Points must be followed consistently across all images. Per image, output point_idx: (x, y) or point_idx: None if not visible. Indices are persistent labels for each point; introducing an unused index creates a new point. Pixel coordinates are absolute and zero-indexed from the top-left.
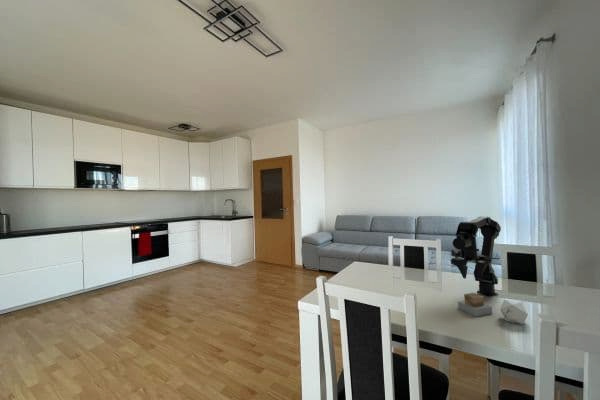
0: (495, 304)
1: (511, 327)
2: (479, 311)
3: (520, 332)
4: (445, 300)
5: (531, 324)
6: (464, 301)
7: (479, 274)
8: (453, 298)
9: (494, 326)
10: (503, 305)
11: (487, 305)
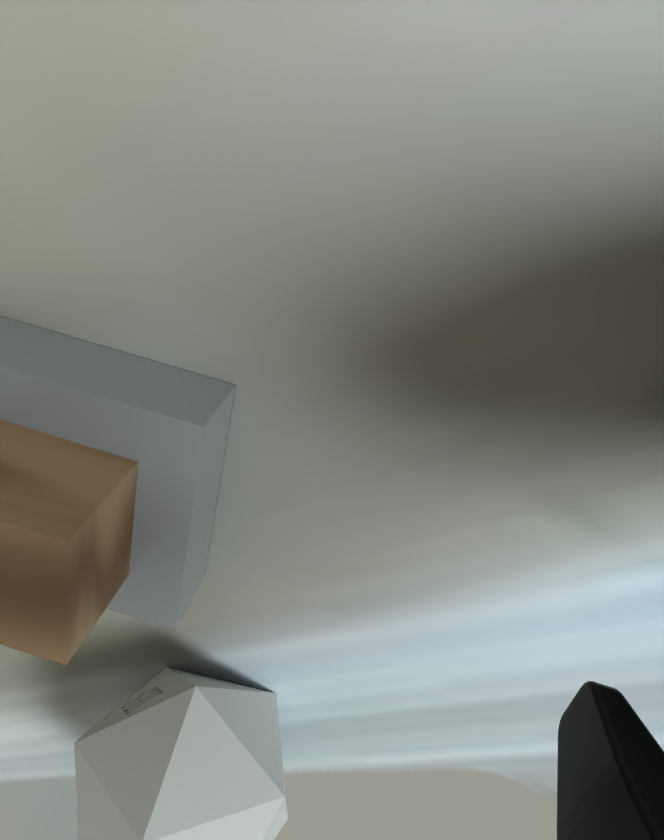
0: (480, 524)
1: (103, 705)
2: None
3: None
4: (5, 36)
5: None
6: (12, 397)
7: (575, 762)
8: (193, 59)
9: None
10: (92, 797)
11: (162, 596)
